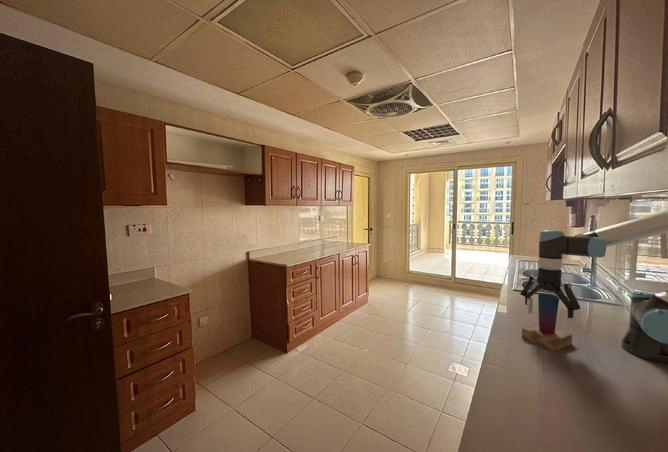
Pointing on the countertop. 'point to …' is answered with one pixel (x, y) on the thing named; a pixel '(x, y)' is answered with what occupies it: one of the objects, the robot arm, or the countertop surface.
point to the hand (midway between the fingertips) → (547, 319)
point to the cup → (547, 312)
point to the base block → (547, 337)
